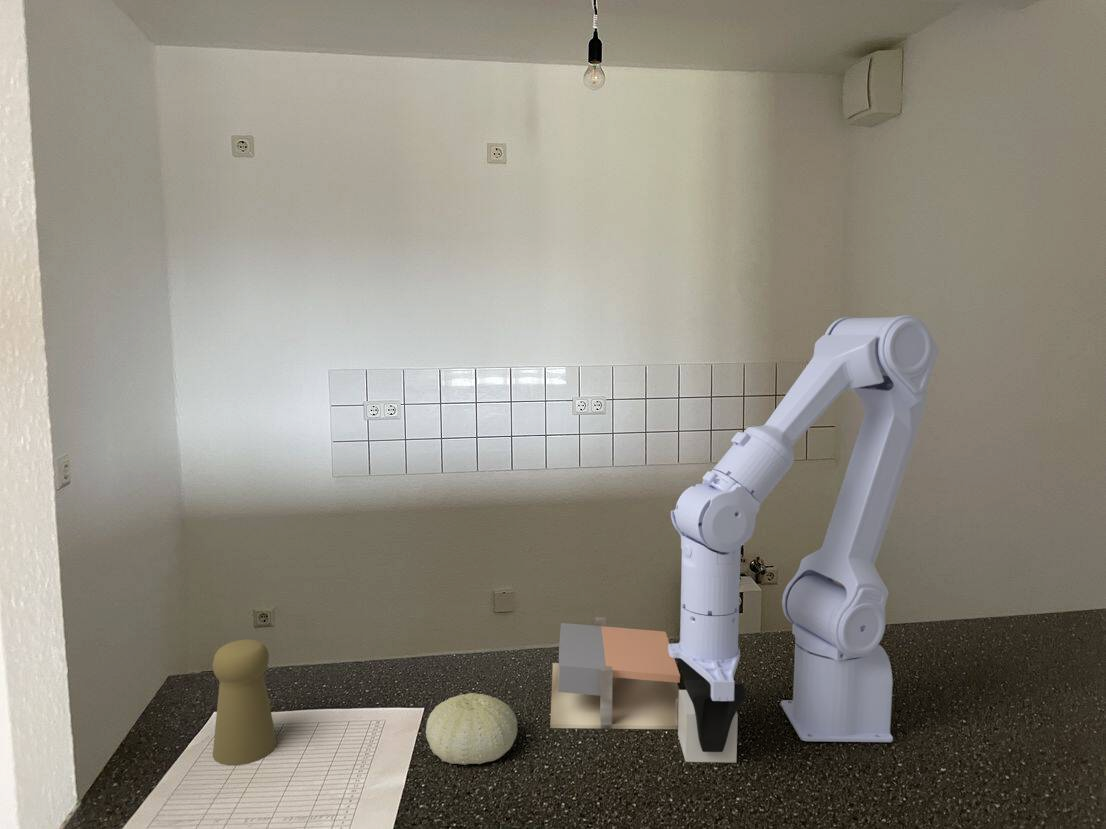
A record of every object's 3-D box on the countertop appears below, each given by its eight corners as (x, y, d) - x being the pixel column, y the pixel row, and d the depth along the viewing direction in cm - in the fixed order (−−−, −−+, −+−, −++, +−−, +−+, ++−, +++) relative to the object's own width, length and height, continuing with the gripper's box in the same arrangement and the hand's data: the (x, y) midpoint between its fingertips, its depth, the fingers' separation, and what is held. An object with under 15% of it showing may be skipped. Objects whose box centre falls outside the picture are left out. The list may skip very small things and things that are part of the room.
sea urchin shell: (513, 759, 71) (455, 697, 71) (457, 807, 72) (401, 746, 73) (534, 711, 80) (483, 656, 80) (484, 755, 81) (434, 701, 82)
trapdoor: (663, 654, 93) (665, 631, 92) (677, 702, 81) (680, 675, 80) (559, 646, 93) (561, 622, 92) (558, 692, 81) (560, 665, 81)
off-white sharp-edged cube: (725, 735, 78) (726, 690, 78) (736, 762, 73) (737, 714, 73) (678, 735, 79) (678, 689, 78) (685, 762, 74) (686, 714, 73)
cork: (214, 771, 72) (208, 662, 71) (210, 741, 77) (205, 639, 76) (280, 755, 75) (276, 650, 73) (272, 727, 80) (268, 628, 79)
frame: (671, 666, 94) (671, 617, 94) (690, 729, 79) (691, 671, 79) (552, 665, 95) (552, 616, 94) (550, 728, 80) (550, 669, 79)
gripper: (660, 581, 82) (658, 699, 83) (680, 634, 67) (677, 776, 69) (725, 581, 82) (721, 700, 83) (759, 635, 67) (754, 776, 69)
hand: (706, 734), depth 76 cm, fingers closed on off-white sharp-edged cube, 5 cm apart
